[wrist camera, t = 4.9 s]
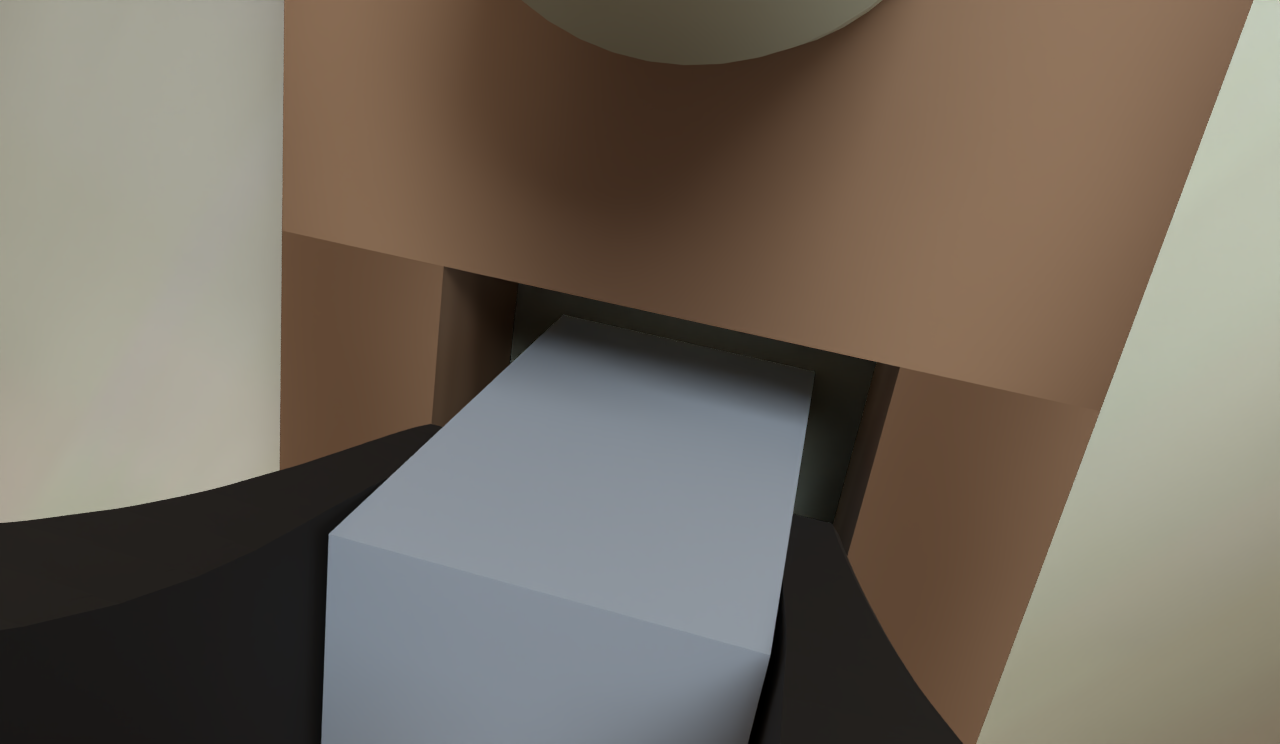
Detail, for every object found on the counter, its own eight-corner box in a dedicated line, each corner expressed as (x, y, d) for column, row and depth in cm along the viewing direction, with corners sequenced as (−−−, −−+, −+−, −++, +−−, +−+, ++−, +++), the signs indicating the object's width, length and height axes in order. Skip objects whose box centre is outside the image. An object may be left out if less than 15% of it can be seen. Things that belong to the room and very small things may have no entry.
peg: (815, 371, 14) (770, 655, 8) (761, 591, 16) (686, 981, 9) (563, 314, 15) (328, 534, 8) (534, 530, 16) (317, 857, 10)
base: (1333, -500, 10) (1941, -1184, 4) (915, 733, 16) (939, 1106, 10) (433, -568, 11) (15, -1137, 6) (371, 581, 17) (141, 837, 12)
